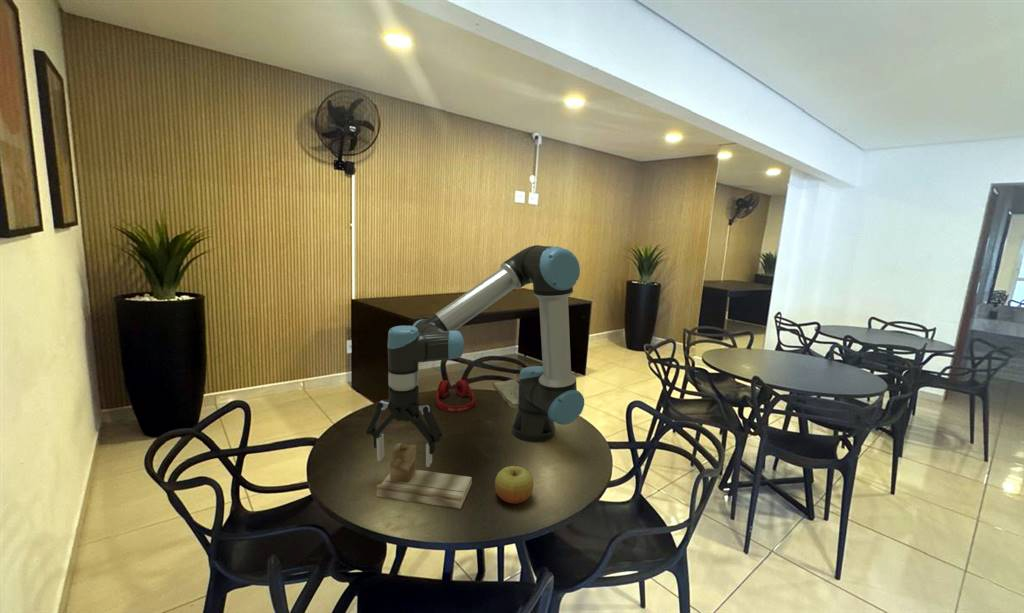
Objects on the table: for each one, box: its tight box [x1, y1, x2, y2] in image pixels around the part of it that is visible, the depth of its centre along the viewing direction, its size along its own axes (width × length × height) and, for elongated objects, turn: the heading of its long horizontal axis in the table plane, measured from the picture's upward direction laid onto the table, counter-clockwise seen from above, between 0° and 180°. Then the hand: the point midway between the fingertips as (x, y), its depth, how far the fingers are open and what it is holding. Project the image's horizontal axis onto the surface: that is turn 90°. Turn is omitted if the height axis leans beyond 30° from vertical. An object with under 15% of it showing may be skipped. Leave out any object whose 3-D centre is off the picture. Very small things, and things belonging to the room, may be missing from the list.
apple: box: [494, 465, 534, 505], centre depth 112 cm, size 10×10×8 cm
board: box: [376, 469, 473, 510], centre depth 114 cm, size 22×11×3 cm, turn 81°
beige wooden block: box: [389, 442, 417, 483], centre depth 114 cm, size 5×8×9 cm, turn 171°
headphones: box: [435, 379, 475, 413], centre depth 173 cm, size 15×7×20 cm
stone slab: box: [492, 378, 519, 410], centre depth 181 cm, size 12×4×30 cm
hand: (404, 461), depth 116 cm, fingers open, 13 cm apart
